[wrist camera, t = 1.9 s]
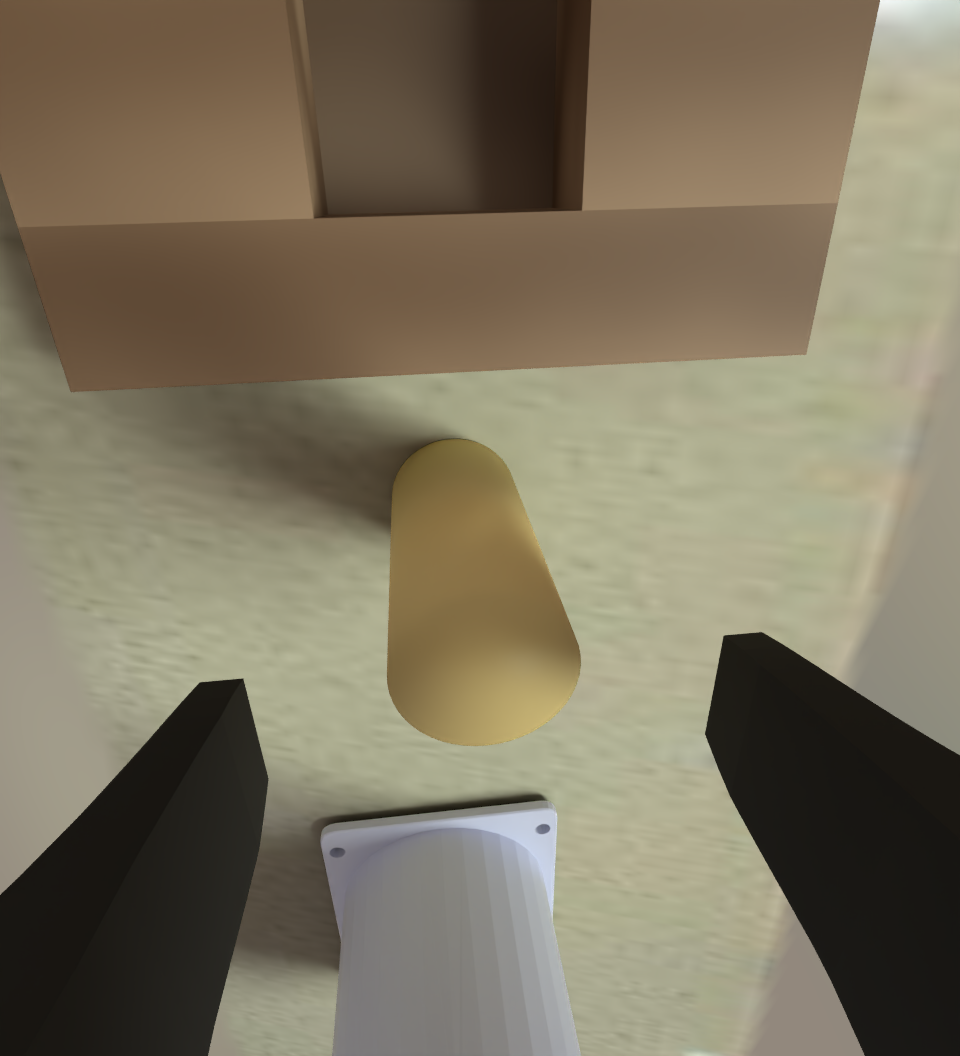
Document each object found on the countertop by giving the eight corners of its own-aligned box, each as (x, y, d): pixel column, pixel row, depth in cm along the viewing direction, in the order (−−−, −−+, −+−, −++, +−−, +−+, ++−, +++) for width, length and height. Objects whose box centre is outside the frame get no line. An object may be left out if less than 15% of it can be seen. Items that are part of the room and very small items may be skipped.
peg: (514, 546, 18) (576, 736, 11) (397, 555, 17) (396, 754, 11) (514, 435, 16) (585, 584, 10) (386, 442, 16) (377, 600, 10)
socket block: (736, 327, 15) (806, 354, 13) (131, 355, 14) (70, 391, 12) (831, -283, 11) (971, -437, 8) (-51, -318, 10) (-221, -511, 7)
